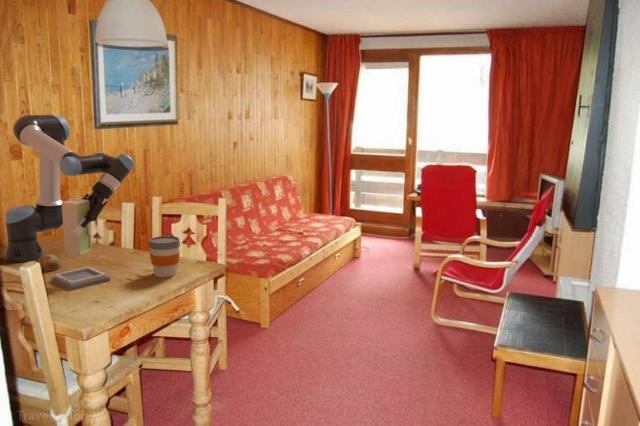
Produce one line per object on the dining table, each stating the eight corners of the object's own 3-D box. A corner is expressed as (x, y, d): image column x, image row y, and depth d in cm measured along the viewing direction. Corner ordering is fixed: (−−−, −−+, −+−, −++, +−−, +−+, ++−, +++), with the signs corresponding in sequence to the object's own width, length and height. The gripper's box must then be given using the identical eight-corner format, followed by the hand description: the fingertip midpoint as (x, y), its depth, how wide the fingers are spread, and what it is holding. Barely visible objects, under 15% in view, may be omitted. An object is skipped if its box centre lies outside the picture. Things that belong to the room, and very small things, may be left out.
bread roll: (61, 278, 218) (68, 260, 219) (36, 272, 210) (44, 254, 211) (52, 272, 224) (59, 255, 225) (28, 267, 217) (35, 249, 218)
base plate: (51, 280, 203) (50, 274, 202) (90, 271, 215) (89, 265, 215) (70, 290, 193) (69, 283, 193) (110, 280, 205) (109, 273, 205)
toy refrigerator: (81, 256, 197) (77, 203, 193) (64, 254, 199) (60, 201, 194) (94, 250, 205) (91, 199, 200) (77, 249, 206) (74, 198, 202)
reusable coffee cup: (186, 274, 215) (185, 240, 212) (157, 280, 206) (156, 245, 203) (173, 267, 224) (171, 234, 221) (145, 272, 216) (143, 238, 213)
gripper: (126, 195, 202) (90, 241, 193) (98, 189, 216) (63, 232, 207) (113, 183, 197) (75, 230, 188) (85, 178, 211) (49, 221, 202)
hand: (69, 231), depth 197 cm, fingers closed on toy refrigerator, 9 cm apart
